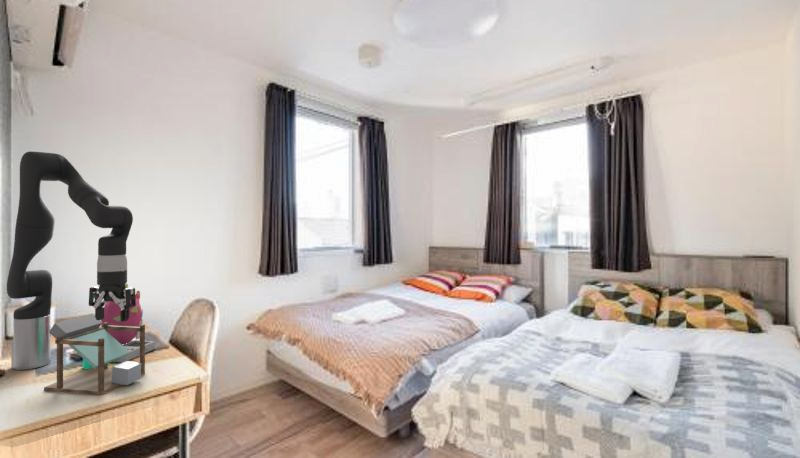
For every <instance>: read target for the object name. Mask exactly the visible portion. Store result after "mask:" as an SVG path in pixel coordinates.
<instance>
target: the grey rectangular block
mask: <svg viewBox="0 0 800 458" xmlns="http://www.w3.org/2000/svg"><path fill="white" fill-rule="evenodd" d="M111 368H112V378H111V383H116V384H123V385H122V386H129V385H130V384H132V383H134V382H136V381H139V380H140V379H141V376H142V375H141V363H140V362H136V361H131V360H128V361H124V362H119V363H118V364H115V365H113V366H112V367H111Z"/></svg>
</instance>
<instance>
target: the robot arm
mask: <svg viewBox="0 0 800 458" xmlns="http://www.w3.org/2000/svg"><path fill="white" fill-rule="evenodd" d="M42 181H43V182H45V181H46V182H62V183H63V184H65V185H67V194H68V197H69V199H71V201H72V202H73V203H74V204H75V205H77V207H79V208H81V209H82V210H83V211H84V212H85V215H86V216H87V217H88V219H89V221H90V222H91V224H93V225H94V226H96V227H98V228H100V229H111V231H110V233H109V234H107V235H104V236H101V237H99V239H98V242H97V243H98V244H97V247H98V248H97V262H96V284H97V286H91V287H89V291H88V306H89V307H93V308H94V310H95V311H94V316H95V318H96V320H100V321H101V320H102V319H104V306H105V304H106V302H108V301H111V302H115V303H116V304H117V305H119V306H120V308H121V309H122V310H120V321H121V322H124V321H127V320H128V319H129V309H130V308H131V307H134V306H136V296H135V295H136V288H135V287H128V289H126V287H125V284H128V259H127V258H128V257H127V240H128V238H129V235H130V231H131V229H132V225H133V222H134V221H133V220H134V217H133V213H132V211H131V209H130V208H128V207H127V206H124V205H123V206H121V205H110V201H109V199H108V198H107V197H106V196H105V195H104V194H103V193H101V192H100V191H99V190H98V189H96V188H95V187H94V186H93V185H91V184H90V183H89V182H88V181H87V180H86V179H85V178H84V177H83V176H82V174H81V173H80V172H79V171H78V170H77V169H76V167H75V166H74V165H73V164H72V162H70V160H69V159H68V158H66V157H65V156H64V155H61V154H59V153H54V152H53V153H52V152H43V151H42V152H41V151H27V152H25V153H23V155H22V156H21V159H20V163H19V199H18V208H17V215H16V222H15V227H14V228H15V229H14V242H13V252H12V257H11V263H10V267H9V269H8V270H9V272H8V276H7V281H6V293H7V297H9V298H11V299H15V300H19V299H26V298H27V299H28V298H34V297H35V298H34V299H33V300H32V301H31V302H29V303H28V304H25V305H23V306H20V307H18V308H16V309H14V311H13V318H12V319H13V325H12V326H13V339H11V343H10V346H11V352H10V355H11V356H10V357H11V362H10V364H11V368H13V370H17V371H22V370H23V371H25V370H31V369H36V368H39V367H40V368H41V367H43V366H46V365H48V364H50V363H51V350H52V349H51V340H52V339H51V336H52V335H51V334H50V333H49V331H50V330H51V328H52V327H51V309H52V292H53V276H52V274H51V272H50V271H49V270H48V269H36V270H33V269H32V270H27V269H28V267H29V266H30V263H31V261H32V260H33V258H35V257H36V255H37V254H38V253H40V252H41V251H42V250H43V249H44V248H45V247H46V246H47V245H48V244H49V243H50V242H51V240H52V238H53V236H54V230H55V222H56V219H55V217H54V214H53V212H52V211H51V209H50V208H49V207H48V205H47V203H46V202H45V201H44V199H43V196H42V194H41V183H42ZM121 299H123V300H121ZM123 303H124V304H123Z"/></svg>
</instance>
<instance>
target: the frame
mask: <svg viewBox="0 0 800 458" xmlns="http://www.w3.org/2000/svg"><path fill="white" fill-rule="evenodd" d="M103 329H105V330H106V331H107V332H108V330H123V331H140V337H139V341H140V356H139V363H141V376H143V375H145V374H146V367H145V366H146V357H145V356H146V353H145V341H146V324H143V323H142V325H140V327H132V326H114V325H108V323H107V322H105V323H103V325H102V326H101V325H100V327H99V328H97V329H93V330H90V331H87V332H84V333H80V334H77V335H74V336H70V337H67V338H64V339H63V336H57V339H56V338H55V340H54V343H55V344H56V382H54V383H51V384H48V385H46V386H44V388H43V389H44V390H43V391H44V392H45V391H47V392H57V393H58V392H59V393H67V394H68V393H69V394H71V393H72V394H83V395H94V396H95V395H96V396H102V395H105V394H107V393H109V392H111V391H112V390H114V389H116V388H119V387H121V386H124V385H123V384H116V383H111V378H112V367H109V363H106V364H104V338H100V339H98V341H91V340H74V338H77V337H80V336H83V335H87V334H90V333H93V332H96V331H100V330H103ZM68 344H70V345H86V346H98V367H97V368H93V367H92V368H90V369H84V371H80V372H78V373H76V374H73V375H71V376H69V377H65V378H64V345H68Z"/></svg>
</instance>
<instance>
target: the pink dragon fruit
mask: <svg viewBox="0 0 800 458" xmlns="http://www.w3.org/2000/svg"><path fill="white" fill-rule="evenodd" d="M125 287H126V289H129V284H128V283H126V284H125ZM135 296H136V306H134V307H131V308H130V309H129V319H128V320H127V321H124V322H121V321H120V310H122V309H121V308H120V306H119V305H117V304H116V303H115V302H111V301H108V302H106V304H105V305H104V306H103V307H104V319H102V320H100V321H101V322H102V324H101V325H100V327H101V326H102V325H103V323H105V322H107V323H108V325H114V326H132V327H140V325H142V324H143V321H144V320H143V315H144V312H143V311H144V310H143V309H144V308H143V309H142V306H141V304H140V299H141V291H140V290H136V291H135ZM121 300H123V299H121ZM123 304H124V303H123ZM108 333H109V334H110V335H111V336H112V337H113V338H115V339H116V340H117V341H118V342H119V343H120V344H121V345H122V344H126V343H129V342H132V341H134V340H133V339H135V340H139V339H140V331H123V330H108Z"/></svg>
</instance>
